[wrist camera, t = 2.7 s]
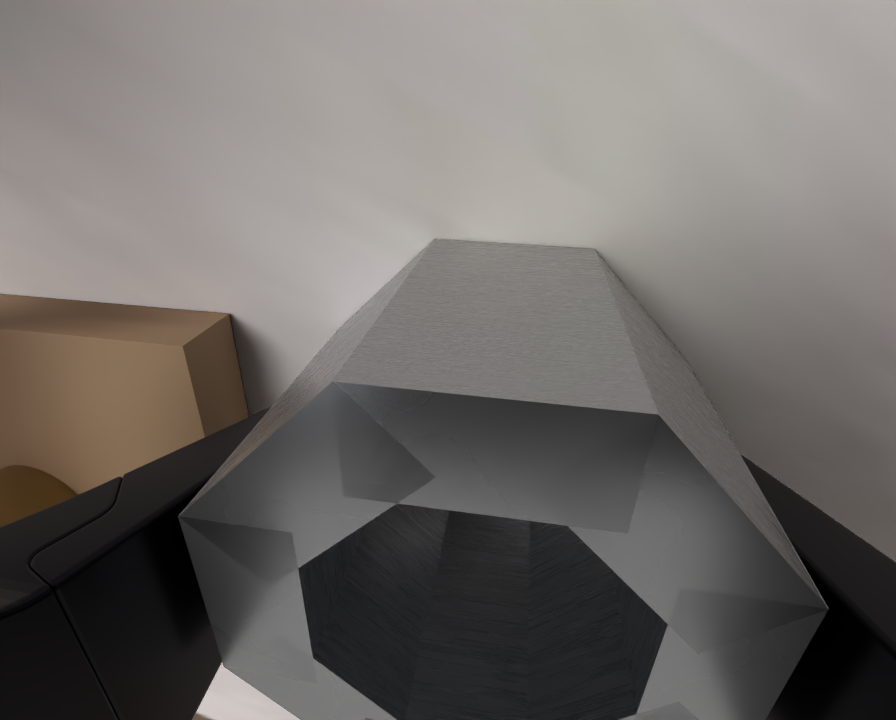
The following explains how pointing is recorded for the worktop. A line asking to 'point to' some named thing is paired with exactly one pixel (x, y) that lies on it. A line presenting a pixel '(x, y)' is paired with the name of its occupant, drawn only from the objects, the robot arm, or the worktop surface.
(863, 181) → the worktop surface
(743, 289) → the worktop surface
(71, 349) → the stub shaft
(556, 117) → the worktop surface
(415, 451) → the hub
